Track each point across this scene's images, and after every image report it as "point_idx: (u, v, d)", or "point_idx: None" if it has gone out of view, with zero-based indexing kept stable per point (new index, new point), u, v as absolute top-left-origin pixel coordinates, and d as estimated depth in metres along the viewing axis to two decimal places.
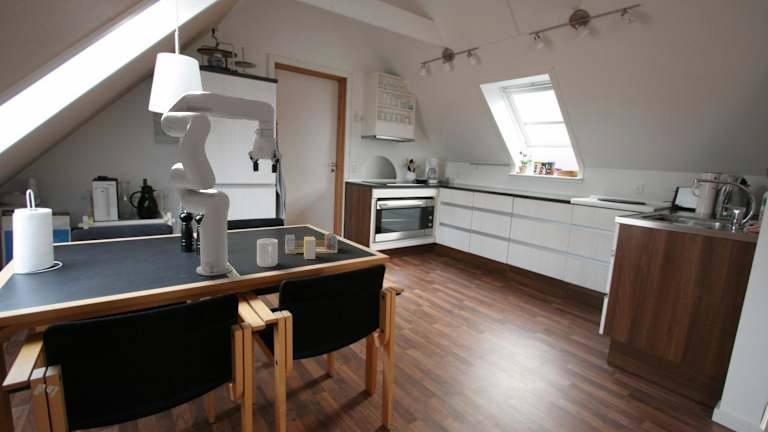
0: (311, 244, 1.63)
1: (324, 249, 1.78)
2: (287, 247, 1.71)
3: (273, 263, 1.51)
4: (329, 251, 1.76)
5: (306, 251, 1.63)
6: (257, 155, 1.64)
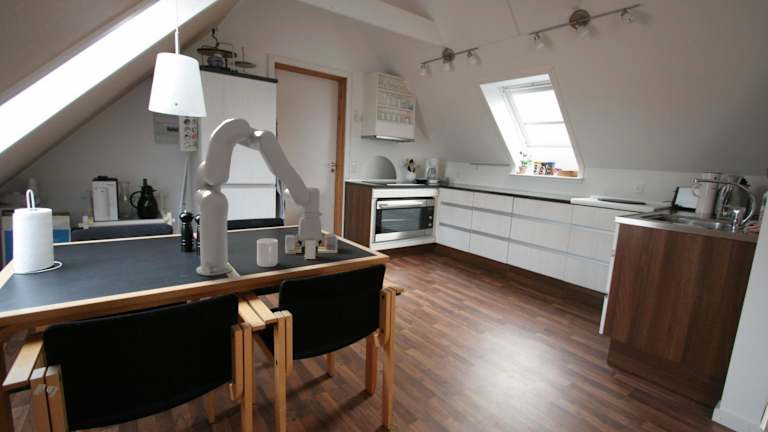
0: (311, 244, 1.63)
1: (324, 249, 1.78)
2: (287, 247, 1.71)
3: (273, 263, 1.51)
4: (329, 251, 1.76)
5: (306, 251, 1.63)
6: None
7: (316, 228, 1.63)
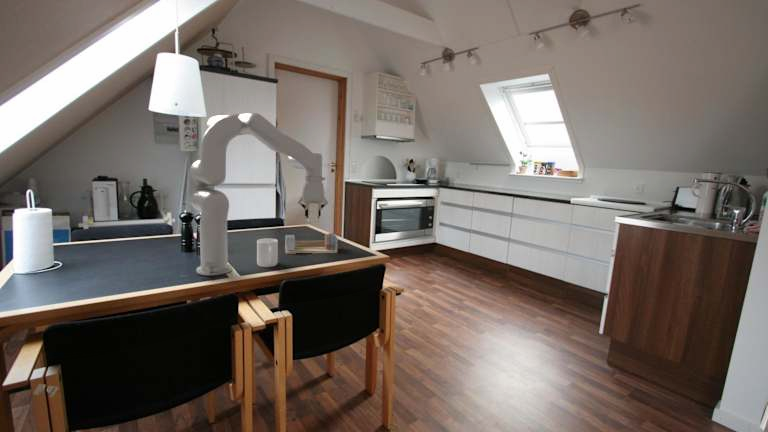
0: (314, 207, 1.70)
1: (324, 249, 1.78)
2: (287, 247, 1.71)
3: (273, 263, 1.51)
4: (329, 251, 1.76)
5: (309, 214, 1.70)
6: None
7: (319, 192, 1.71)
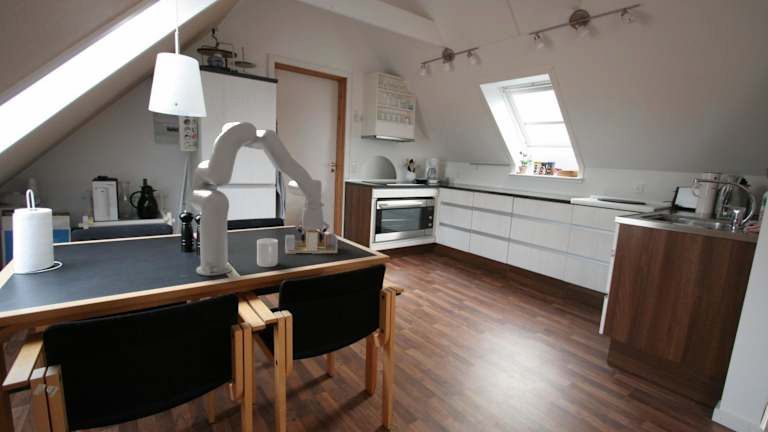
0: (313, 236, 1.72)
1: (324, 249, 1.78)
2: (287, 247, 1.71)
3: (273, 263, 1.51)
4: (329, 251, 1.76)
5: (308, 243, 1.72)
6: None
7: (318, 218, 1.73)
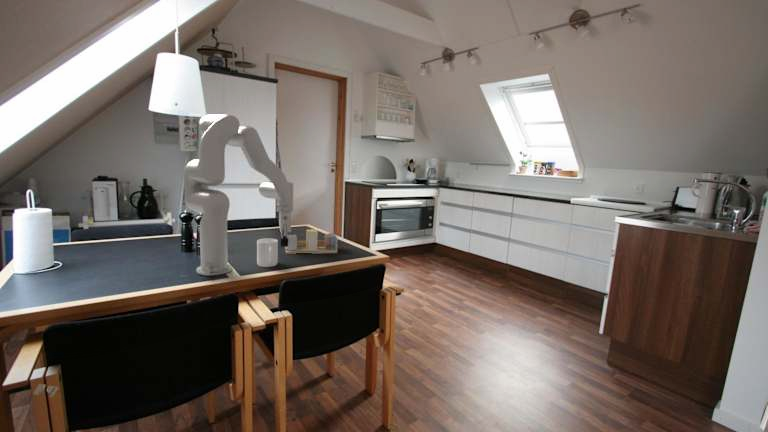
0: (313, 236, 1.72)
1: (324, 249, 1.78)
2: (289, 247, 1.71)
3: (273, 263, 1.51)
4: (329, 251, 1.76)
5: (308, 243, 1.72)
6: None
7: (279, 220, 1.68)
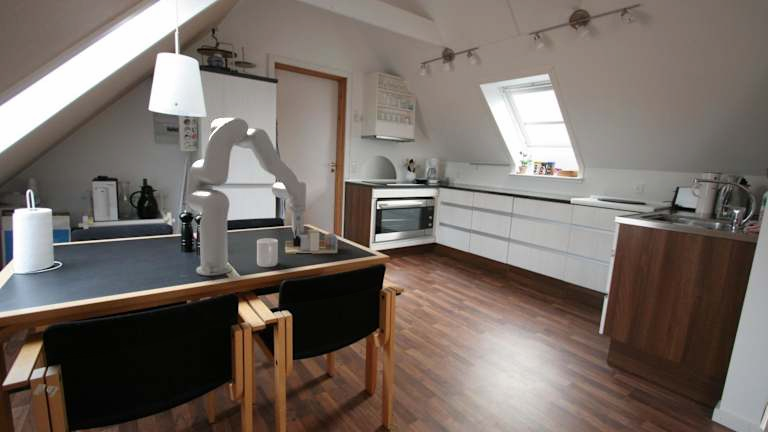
0: (315, 236, 1.73)
1: (324, 249, 1.78)
2: (302, 247, 1.73)
3: (273, 263, 1.51)
4: (329, 251, 1.76)
5: (310, 243, 1.73)
6: None
7: (292, 220, 1.70)
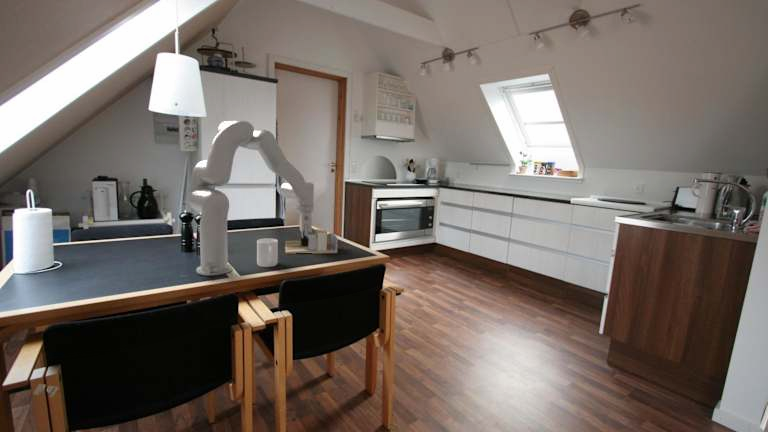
0: (322, 236, 1.74)
1: None
2: (309, 247, 1.74)
3: (273, 263, 1.51)
4: (329, 251, 1.76)
5: (318, 242, 1.74)
6: None
7: (300, 220, 1.71)
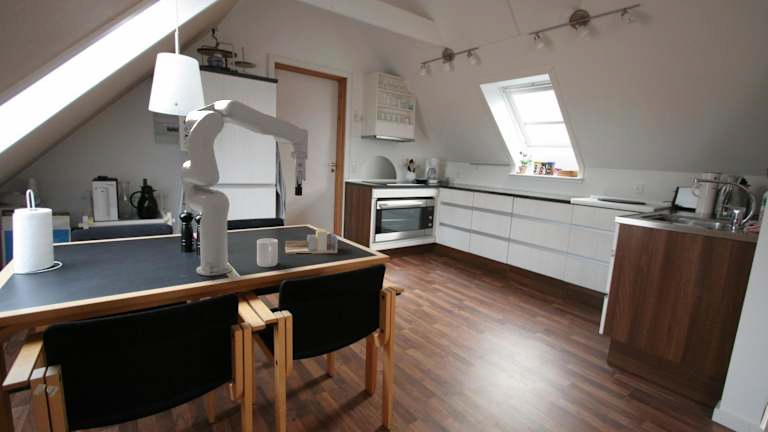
0: (322, 236, 1.74)
1: None
2: (309, 247, 1.74)
3: (273, 263, 1.51)
4: (329, 251, 1.76)
5: (318, 242, 1.74)
6: None
7: (294, 168, 1.66)
